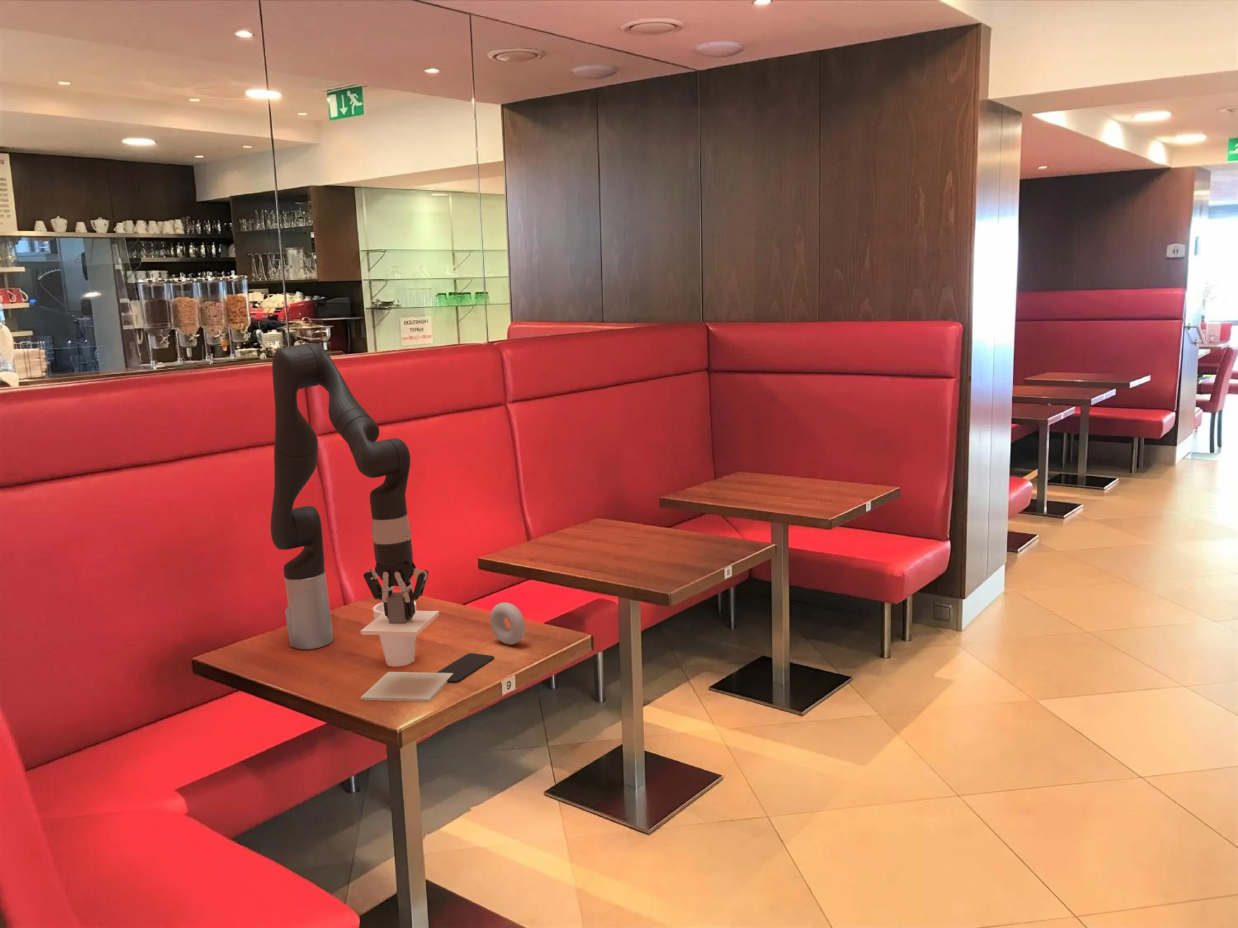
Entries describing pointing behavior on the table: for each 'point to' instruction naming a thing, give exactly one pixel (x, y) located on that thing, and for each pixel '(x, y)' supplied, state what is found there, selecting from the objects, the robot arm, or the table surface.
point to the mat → (407, 686)
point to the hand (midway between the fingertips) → (400, 617)
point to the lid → (399, 619)
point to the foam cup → (396, 644)
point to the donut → (500, 626)
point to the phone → (466, 666)
